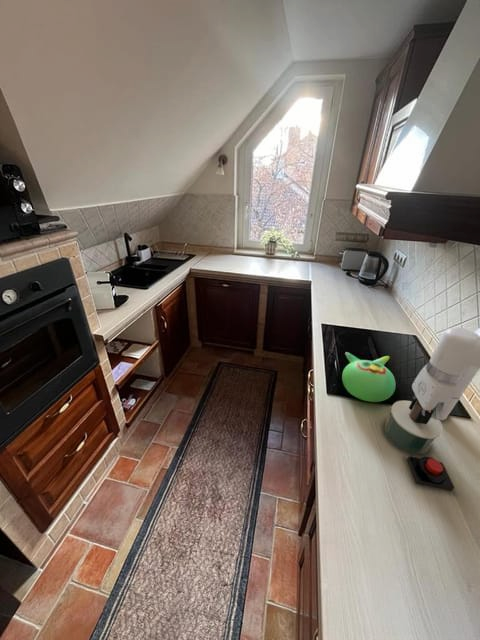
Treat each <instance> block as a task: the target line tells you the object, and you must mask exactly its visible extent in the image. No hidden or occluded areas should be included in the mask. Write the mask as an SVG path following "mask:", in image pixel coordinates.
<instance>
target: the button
mask: <svg viewBox="0 0 480 640" xmlns="http://www.w3.org/2000/svg"><path fill="white" fill-rule="evenodd" d="M438 461H439V460H438V459H435V458H434V459H428V460H427V462H426V463H425V467H426V469H427V470H428V471H429V472H430V473H432V474H434V475H439V474H440V473H441V472H442V470H443V467H442V465H441V464H440V463H439V462H440V461H439V462H438Z"/></svg>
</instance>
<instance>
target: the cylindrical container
mask: <svg viewBox="0 0 480 640" xmlns="http://www.w3.org/2000/svg"><path fill="white" fill-rule="evenodd" d="M479 370H480V368H477V367H475V366H472V365H469V366H468V367H467V369H466V371H465V372H464V374H463V375H462V377H461V378H460V380H459V381H458V383H457V384H456V388H455V391H454V393H453V396H452V398H451V400H450V402H449V403H448V405H447V407H446V408H445V410H444V411H443V412H441V419H440V421H445V420H446V419H448V416H449V415H450V413H451V412H452V411H453V409H454V408H455V406H456V405H457V403H459V400H460V399H461V398H462V396H463V394H464V393H465V392H466V390H467V389H468V387H469V386H470V384H471V382H472V381H473V379H474V378H475V376H476V375H477V373H478V372H479Z"/></svg>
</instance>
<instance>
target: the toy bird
mask: <svg viewBox="0 0 480 640" xmlns="http://www.w3.org/2000/svg"><path fill="white" fill-rule="evenodd" d="M344 355H345V357H346V359H347V361H348V362H349V363H348V364H346V366H345V367H344V368H343V371H342V374H341V380H342V385H343V387H344V388H345V390H346V391H347V393H349V394H350V395H352V396H353V397H354V398H356V399H358V400H361V401H364V402H369V403H379V402H380V403H381V402H383V401H386V400H388V399H390V398H391V396H393V395H394V393H395V391H396V387H397V386H396V384H397V383H396V378H395V376H394V374H393V373H392V372H391V371H390V369H389V368H387V367H386V366H385V365H386V363H387V362H388V361H389V360H390V358H391V357H390V355H385V356H381V357H379V358H377V359H374V360H368V359H360V358H358V357H357V356H355V355H353V354H352V353H350V352H348V351H345V353H344Z"/></svg>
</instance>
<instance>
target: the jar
mask: <svg viewBox="0 0 480 640" xmlns="http://www.w3.org/2000/svg"><path fill="white" fill-rule="evenodd" d="M384 433H385V435H386V437H387V438H388V441H390V442H391V443H392V444H393V445H394V447H397V448H398V449H400V450H401V451H402V452H405V453H408V454H411V455H423V454H425V453H427V452H428V451H429V449H430V448H431V446H432V444H433V443H434V442H435V440H436V439H437V438H434V439H425V438H421V437H418V436H415V435H413V434H411V433H409V432H408V431H406V430H405V429H403V428H402V427H401V426H400V425H399V424H398V423H397V422H396V421H395V419H394V418H393V416H392V413H391V412H390V413H389V415H388V417H387V419H386V420H385V424H384Z"/></svg>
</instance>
